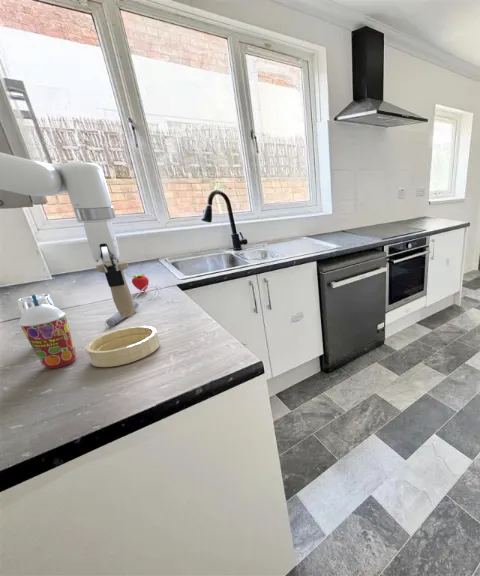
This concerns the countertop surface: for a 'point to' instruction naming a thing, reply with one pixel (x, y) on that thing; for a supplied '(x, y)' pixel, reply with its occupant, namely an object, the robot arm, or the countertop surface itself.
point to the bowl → (122, 346)
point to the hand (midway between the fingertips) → (117, 282)
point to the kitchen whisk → (117, 317)
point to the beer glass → (28, 301)
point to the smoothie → (48, 334)
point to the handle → (121, 293)
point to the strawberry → (140, 282)
